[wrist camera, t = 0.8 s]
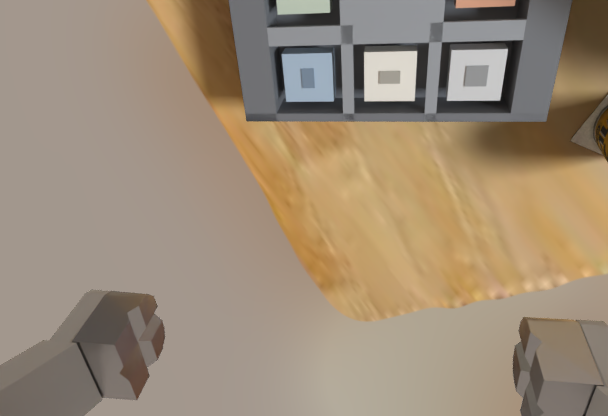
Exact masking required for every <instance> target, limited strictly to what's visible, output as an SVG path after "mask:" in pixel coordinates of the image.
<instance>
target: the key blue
mask: <svg viewBox="0 0 608 416" xmlns="http://www.w3.org/2000/svg"><path fill="white" fill-rule="evenodd" d="M282 63H283V73H284V84H285V94H286V102H333V101H334V99H335V96H336V85H335V60H334V47H317V48H285V49H284V51H283V53H282Z"/></svg>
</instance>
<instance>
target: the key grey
mask: <svg viewBox="0 0 608 416" xmlns="http://www.w3.org/2000/svg"><path fill="white" fill-rule="evenodd" d="M507 53H508V48H507V46H506V44H505V43H481V44H450V51H449V62H448V74H447V85H446V98H447V101H500V98H501V92H502V85H503V79H504V72H505V66H506V60H507Z"/></svg>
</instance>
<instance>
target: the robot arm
mask: <svg viewBox="0 0 608 416" xmlns="http://www.w3.org/2000/svg"><path fill="white" fill-rule="evenodd" d="M156 309H157V303H156V301H155V298H154V296H152V295H149V294H139V293H129V292H117V291H101V290H90V291H89V292H87V293H85V294H84V296H83V297H82V298H81V300H80V301H79V302H78V304H77V305H76V307H75V308H74V309H73V310H72V311H71V313H70V314H69V315H68V317H67V318H66V320H65V321H64V322H63V323H62V325H61V326H60V327H59V329H58V330H57V331H56V332H55V334H54V335H53V336H52V338H51V339H50V340H49V341H47V340H43V341H41V342H39V343H38V344H36V345H34V346H33V347H31V348H29V349H27V350H26V351H24V352H22V353H21V354H19V355H17V356H15V357H14V358H12V359H10V360H8V361H7V362H5V363H3V364H2V365H0V416H84V415H85V414H87V413H88V412H89V411H90V410H91V409H92V408H94V407H95V406H96V405H97V404H98V403H99V402H101V401H102V398H115V399H128V400H137V399H138V397H139V395H140V393H141V392H142V389H143V387H144V386H145V384H146V382H147V380H148V378H149V372H148V368H147V367H148V366H150V365H151V364H153V363H154V362H155V361H157V360H158V358H159V356H160V354H161V352H162V349H163V344H164V339H165V331H164V325H163V322H162V320H161V319H160V318H159V317H158V316H157V315H155V314H154V312H155V310H156ZM519 334H520V338H521V342H519V343H518V344H517V345H516V346H515V349H514V355H513V377H514V383H515V388H516V391H517V392H518V393H519V394H520V395H521V396H522V397H523V401H522V406H521V409H520V411H521V416H608V325H607V324H606V323H605V322H603V321H587V320H568V319H548V318H530V317H529V318H528V317H523V319H522V320H521V322H520V327H519Z"/></svg>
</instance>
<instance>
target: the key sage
mask: <svg viewBox="0 0 608 416" xmlns="http://www.w3.org/2000/svg"><path fill="white" fill-rule="evenodd" d="M276 2H277V12H278V15H283V14H310V13H330V12H331V10H332V0H276Z"/></svg>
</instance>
